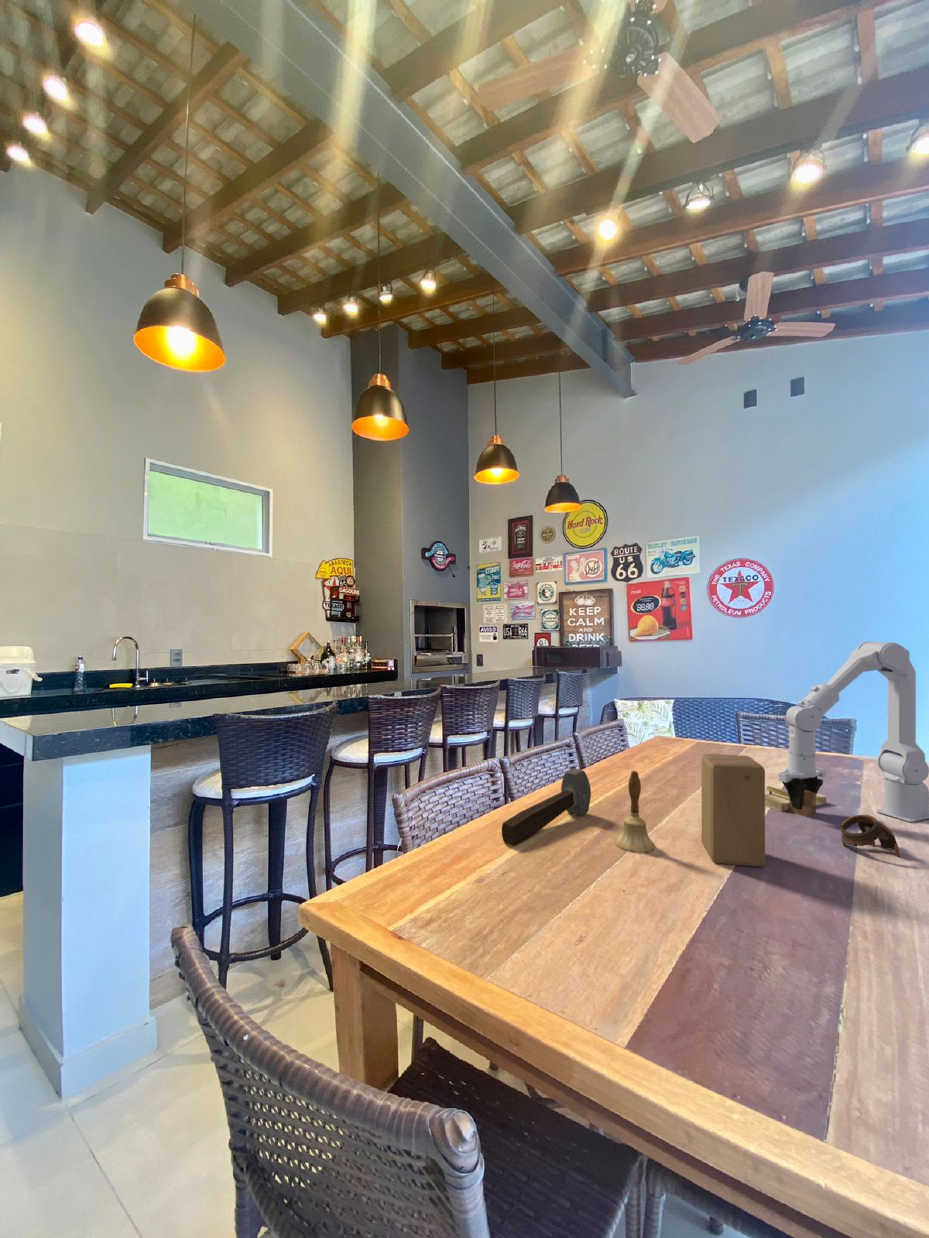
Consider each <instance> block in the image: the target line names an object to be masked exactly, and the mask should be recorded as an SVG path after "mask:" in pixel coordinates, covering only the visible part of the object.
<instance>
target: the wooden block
mask: <svg viewBox="0 0 929 1238" xmlns="http://www.w3.org/2000/svg"><path fill="white" fill-rule="evenodd" d="M765 795H766V771H765V768H764V766H763V765H761V764H760V763H758V762H757V761H756V760H754V759H753V758H752V757H750V756H749V755H739V754H720V753H719V754H718V753H717V754H715V753H705V754H702V756H701V843H702V846H703V848H704V849H705V851H706V853H707V854H708V856H709V858H710V860H711V861H712V862H713V863H715V864H727V865H738V866H739V865H740V866H749V867H750V866H751V867H760V868H761V867H764V866H765V864H766V806H765Z"/></svg>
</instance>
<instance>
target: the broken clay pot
mask: <svg viewBox="0 0 929 1238" xmlns="http://www.w3.org/2000/svg"><path fill="white" fill-rule="evenodd" d="M855 824H856V825H857V827H858V829H859V831H860V832H857V833H854V832H849V831H847V829H848V828H849V827H852V826H853V825H855ZM840 827H841V829H840V832H841V834H840V835H841V836H840V837H841V843H842V845H843V847H846V846H847V845H848V846H853V847H857V846H859V847H864V846H865V847H866V846H871V847H874V848H877V845H876V840H878V842H879V843H880V847H881V848H884V849H885V848H886V849H890V850H892V851H895V852H896V853H895V854H896V857H897V858H901V853H900V849H899V844H898V843H897V839H896V837H895V835H894V833H893V832H892V830H891V829H890V828H889V827H888V826H886V825H885V824H884V823H882V822H881V821H879V820H877V818H875V816H873V815H869V814H857V815H852V816H850V817H848V818H846V819H845V820H843V822H842V823H841V824H840Z"/></svg>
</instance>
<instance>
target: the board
mask: <svg viewBox="0 0 929 1238" xmlns="http://www.w3.org/2000/svg"><path fill="white" fill-rule="evenodd" d="M785 791H786V792H787V790H785ZM826 804H827V795H824V794H820V793H818V792H817V795H816V806H821V805H826ZM765 807H767V808H770V809H773V810H776V811H778V812H781V813H782V812H787V811H789V797H786V796H783V795H780V794H777V793H774V792H772V794H769V793H768V794H767V793H765Z"/></svg>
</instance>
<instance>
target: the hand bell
mask: <svg viewBox="0 0 929 1238" xmlns="http://www.w3.org/2000/svg"><path fill="white" fill-rule="evenodd" d="M638 773H639V772H638V771H637V770H632V771H631V772H630V777H629V779H628V794H629V797H630V816H626V817H625V818H624V819H623V825H622V826H623V827H622V830H621V833H620V834H619V835H618V836H617V837H616V838H615V840H614V844H615V845H616V846H617V847H618V848H620V849H621V850H623V849H624V851H626V850H627V852H629V853H630V852H632V853H636V852H646V853H649V852H652V851H654V850H655V848H656V846H655V845H656V844H654V841H653V840H652V839H650V836H649V834H648V831H647V824H646V820H645V819H643V818H641V817H640V811H639V807H640V806H639V800H640V795H641V790H642V789H641V788H642V785H641V779H640V776H639V774H638ZM653 849H654V850H653Z"/></svg>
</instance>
